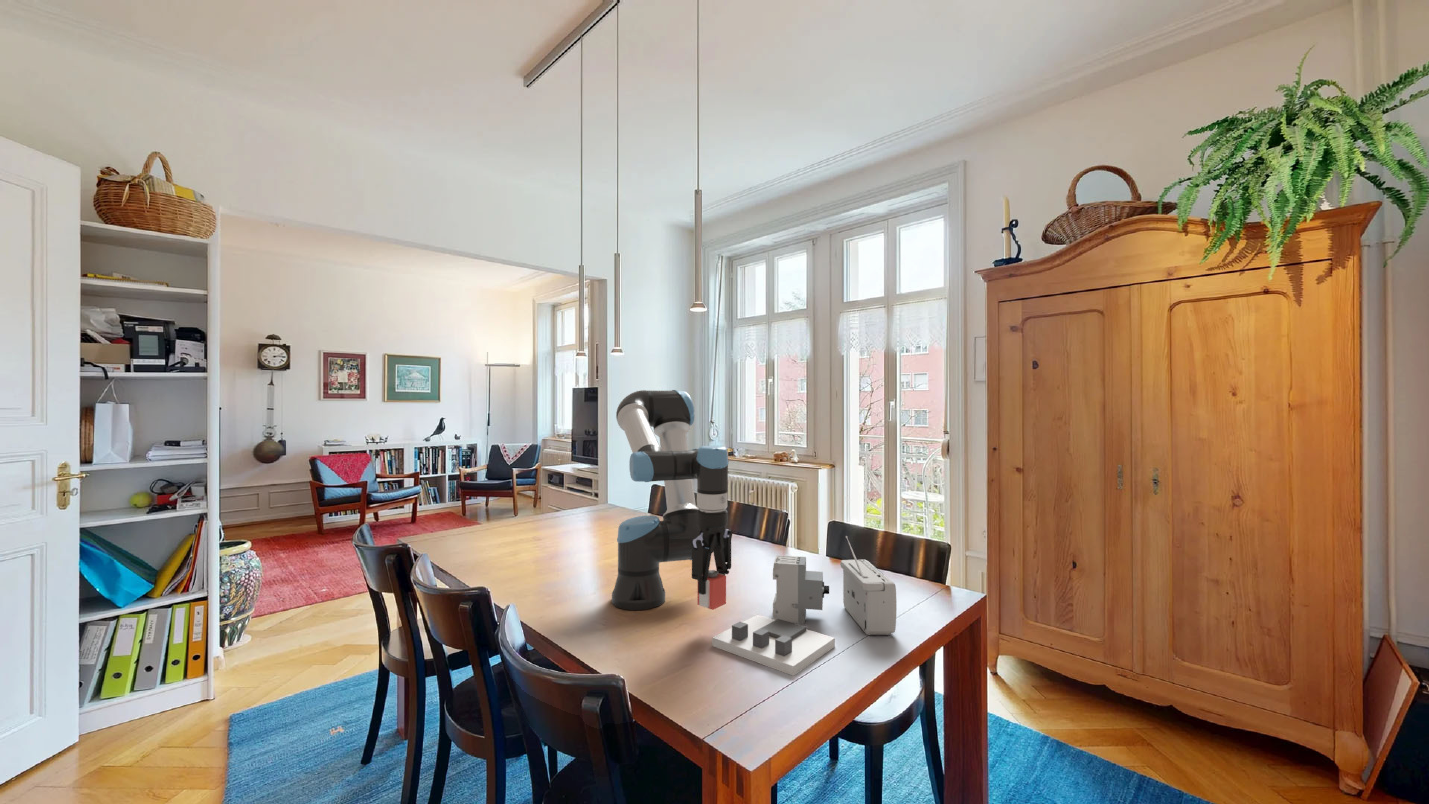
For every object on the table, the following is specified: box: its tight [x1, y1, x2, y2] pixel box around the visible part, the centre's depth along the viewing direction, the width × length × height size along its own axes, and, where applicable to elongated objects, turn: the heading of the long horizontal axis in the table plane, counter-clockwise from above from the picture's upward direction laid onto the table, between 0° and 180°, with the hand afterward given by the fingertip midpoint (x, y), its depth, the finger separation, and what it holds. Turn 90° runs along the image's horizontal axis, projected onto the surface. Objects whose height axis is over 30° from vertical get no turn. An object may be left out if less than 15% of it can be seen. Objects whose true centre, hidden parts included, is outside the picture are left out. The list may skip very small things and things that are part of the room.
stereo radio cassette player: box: [840, 535, 897, 636], centre depth 146 cm, size 21×8×20 cm, turn 4°
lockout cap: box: [696, 569, 727, 610], centre depth 140 cm, size 5×5×8 cm
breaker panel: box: [711, 614, 836, 676], centre depth 131 cm, size 22×18×5 cm
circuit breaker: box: [772, 555, 830, 624], centre depth 148 cm, size 8×14×15 cm, turn 78°
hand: (711, 602), depth 140 cm, fingers closed on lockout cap, 5 cm apart
